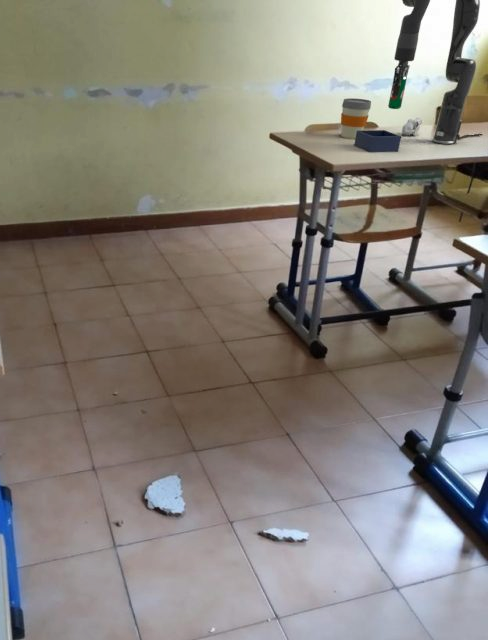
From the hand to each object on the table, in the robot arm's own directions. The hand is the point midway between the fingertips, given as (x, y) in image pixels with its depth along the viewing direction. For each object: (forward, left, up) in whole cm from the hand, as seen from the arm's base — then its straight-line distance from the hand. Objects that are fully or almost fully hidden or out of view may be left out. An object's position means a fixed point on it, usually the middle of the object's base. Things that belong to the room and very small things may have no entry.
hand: (396, 94), depth 245 cm
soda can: (0, 0, -5) cm, 5 cm away
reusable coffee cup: (+2, -26, -21) cm, 34 cm away
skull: (-30, -27, -21) cm, 45 cm away
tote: (+3, -2, -21) cm, 21 cm away
